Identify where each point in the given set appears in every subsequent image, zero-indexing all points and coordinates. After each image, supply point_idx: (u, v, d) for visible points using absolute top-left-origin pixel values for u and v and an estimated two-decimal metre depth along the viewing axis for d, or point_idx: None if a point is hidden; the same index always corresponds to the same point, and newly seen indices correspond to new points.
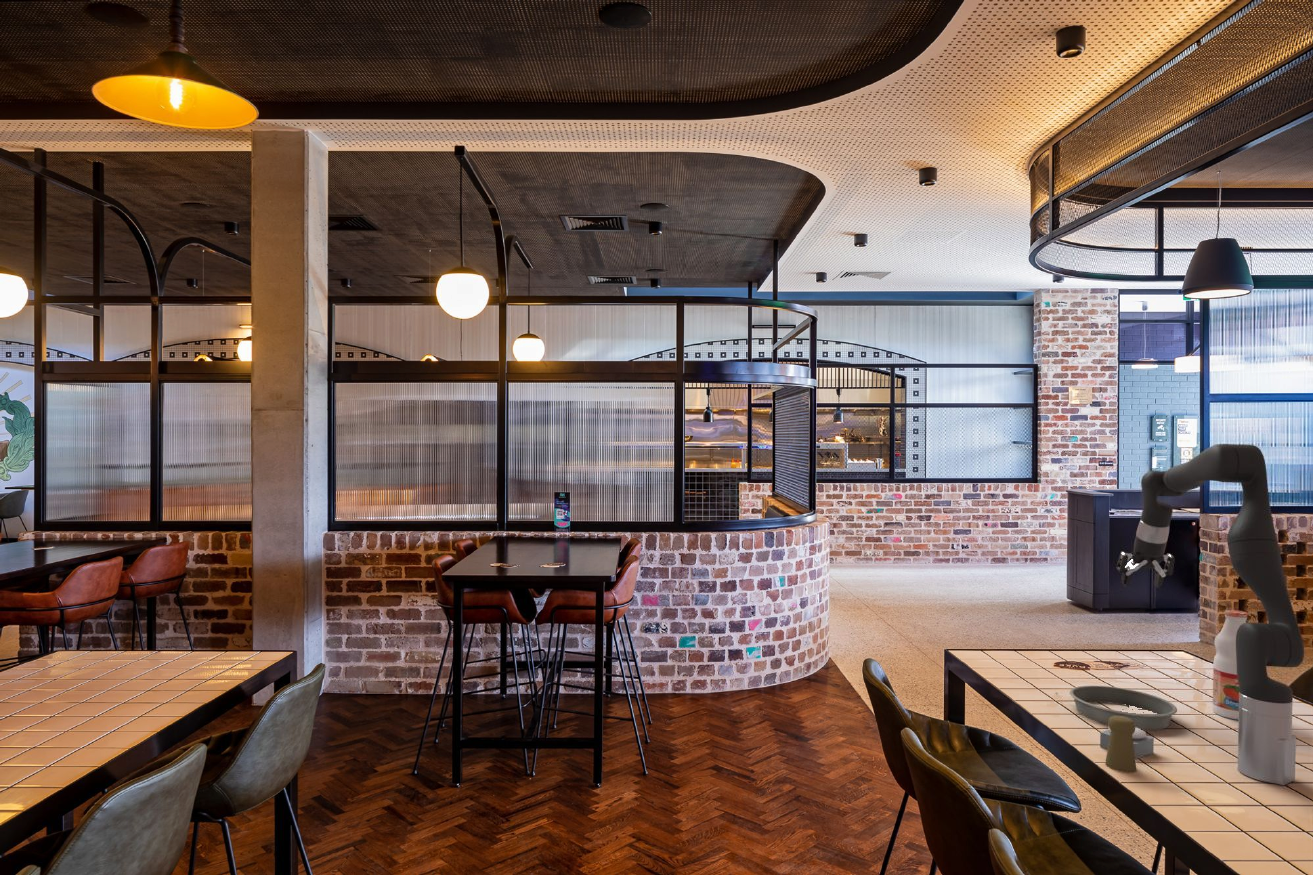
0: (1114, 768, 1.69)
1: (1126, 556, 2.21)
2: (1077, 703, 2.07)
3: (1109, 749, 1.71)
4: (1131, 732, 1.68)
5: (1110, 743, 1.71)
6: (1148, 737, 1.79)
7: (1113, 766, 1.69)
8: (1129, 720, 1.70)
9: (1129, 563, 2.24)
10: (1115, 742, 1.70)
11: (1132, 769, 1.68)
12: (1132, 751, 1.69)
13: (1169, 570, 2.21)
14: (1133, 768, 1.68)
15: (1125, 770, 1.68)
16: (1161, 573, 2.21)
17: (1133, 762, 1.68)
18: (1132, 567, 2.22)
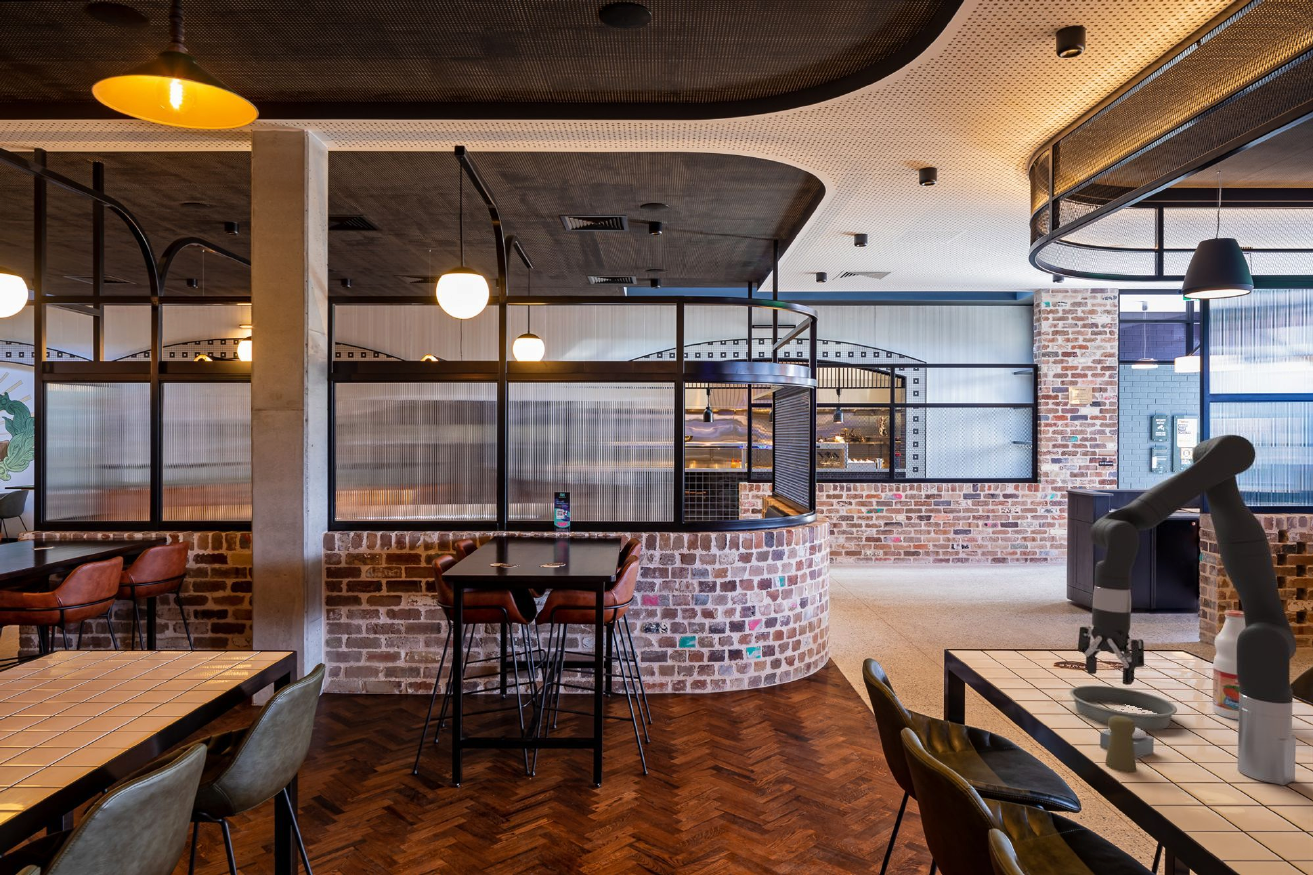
0: (1114, 768, 1.69)
1: None
2: (1077, 703, 2.07)
3: (1109, 749, 1.71)
4: (1131, 732, 1.68)
5: (1110, 743, 1.71)
6: (1148, 737, 1.79)
7: (1113, 766, 1.69)
8: (1129, 720, 1.70)
9: (1123, 654, 1.70)
10: (1115, 743, 1.70)
11: (1132, 769, 1.68)
12: (1132, 751, 1.69)
13: None
14: (1133, 768, 1.68)
15: (1125, 770, 1.68)
16: None
17: (1133, 762, 1.68)
18: (1129, 654, 1.71)
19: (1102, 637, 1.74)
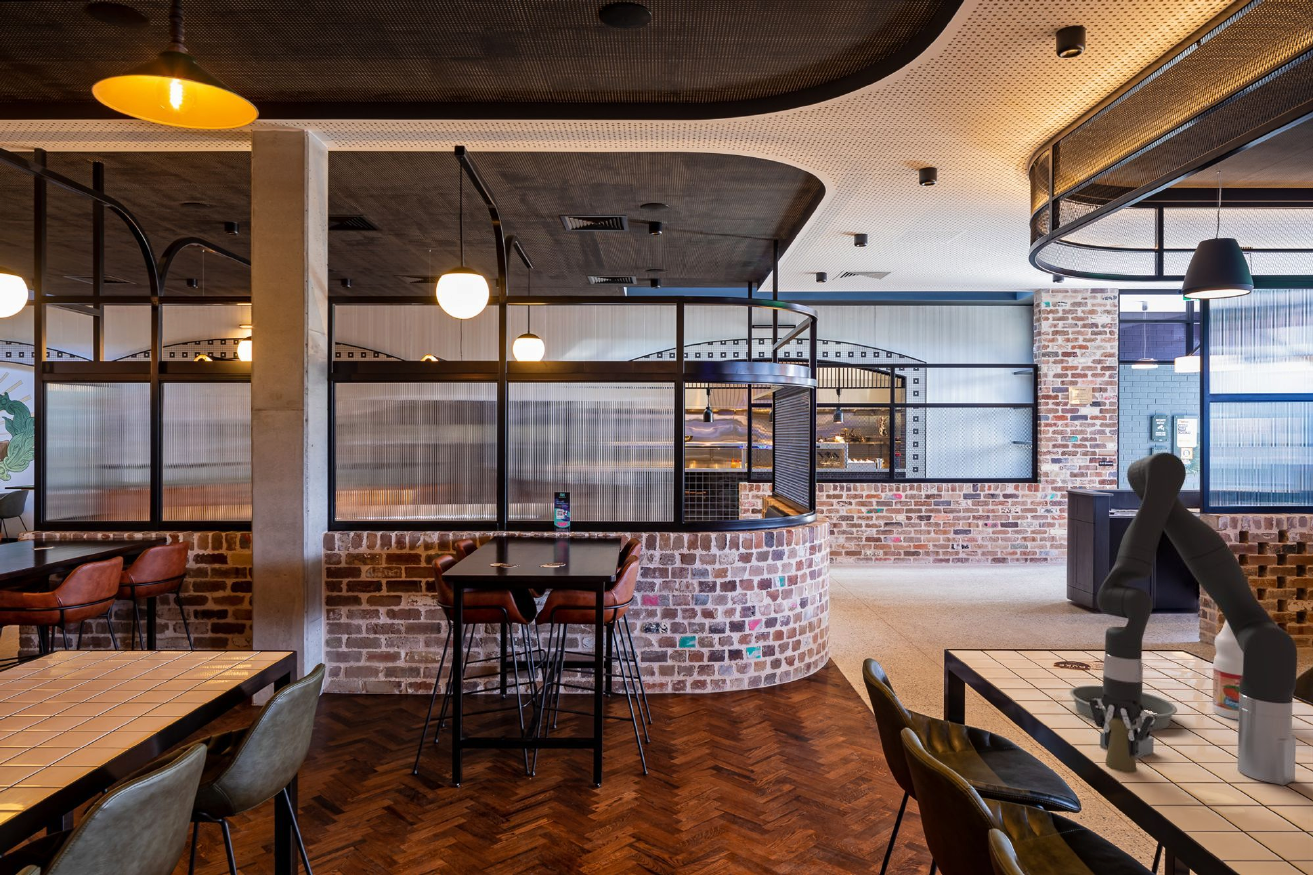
0: (1114, 768, 1.69)
1: None
2: (1077, 703, 2.07)
3: (1109, 749, 1.71)
4: None
5: (1110, 743, 1.71)
6: None
7: (1113, 766, 1.69)
8: None
9: (1132, 726, 1.68)
10: (1115, 742, 1.70)
11: (1132, 769, 1.68)
12: None
13: None
14: (1133, 768, 1.68)
15: (1125, 770, 1.68)
16: None
17: (1133, 762, 1.68)
18: (1137, 725, 1.69)
19: (1113, 705, 1.71)
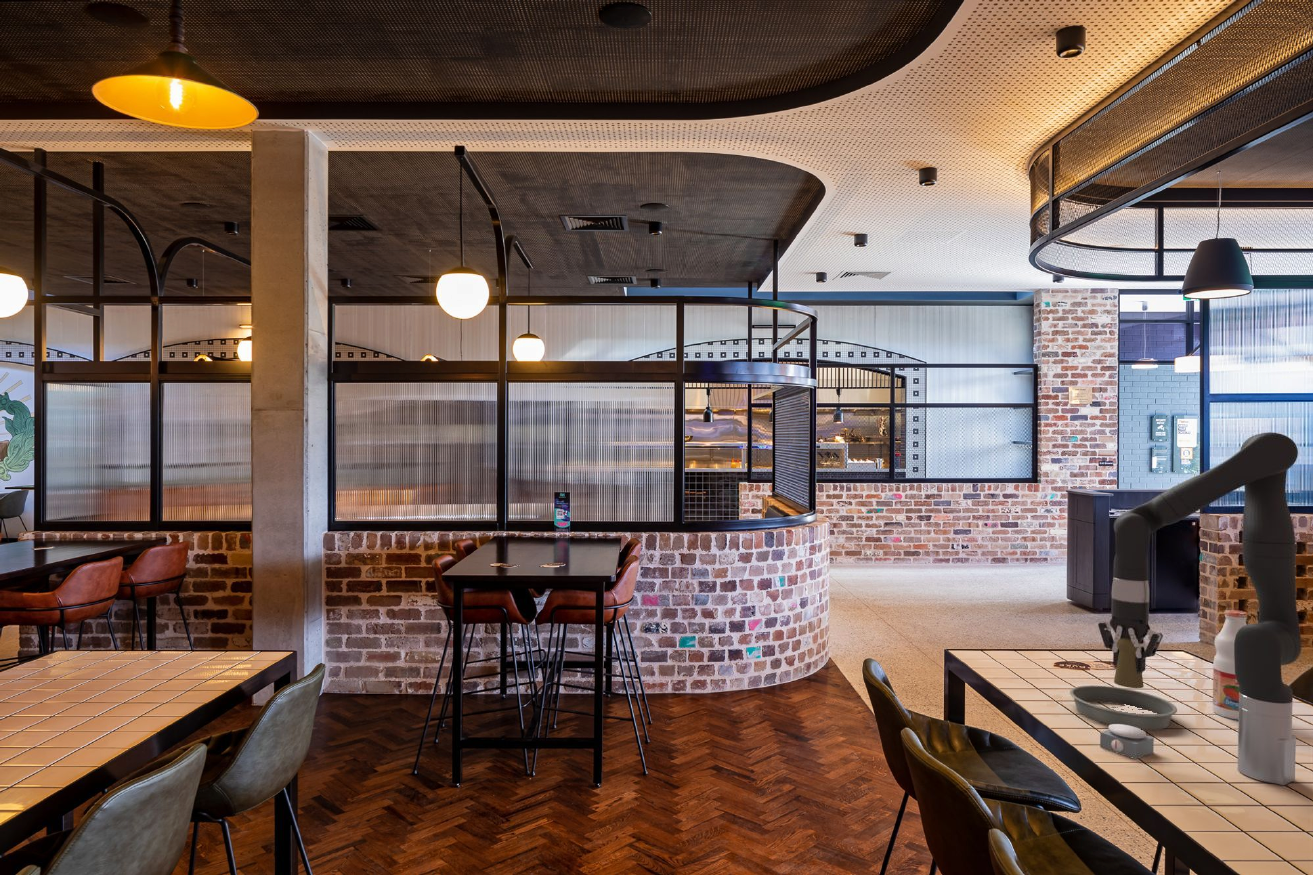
0: (1122, 685, 1.79)
1: None
2: (1077, 703, 2.07)
3: (1117, 667, 1.81)
4: None
5: (1118, 662, 1.81)
6: (1148, 737, 1.79)
7: (1121, 683, 1.79)
8: None
9: (1139, 645, 1.78)
10: (1123, 661, 1.80)
11: (1139, 685, 1.78)
12: None
13: None
14: (1140, 684, 1.78)
15: (1133, 686, 1.78)
16: None
17: (1140, 678, 1.78)
18: (1144, 644, 1.79)
19: (1121, 626, 1.81)
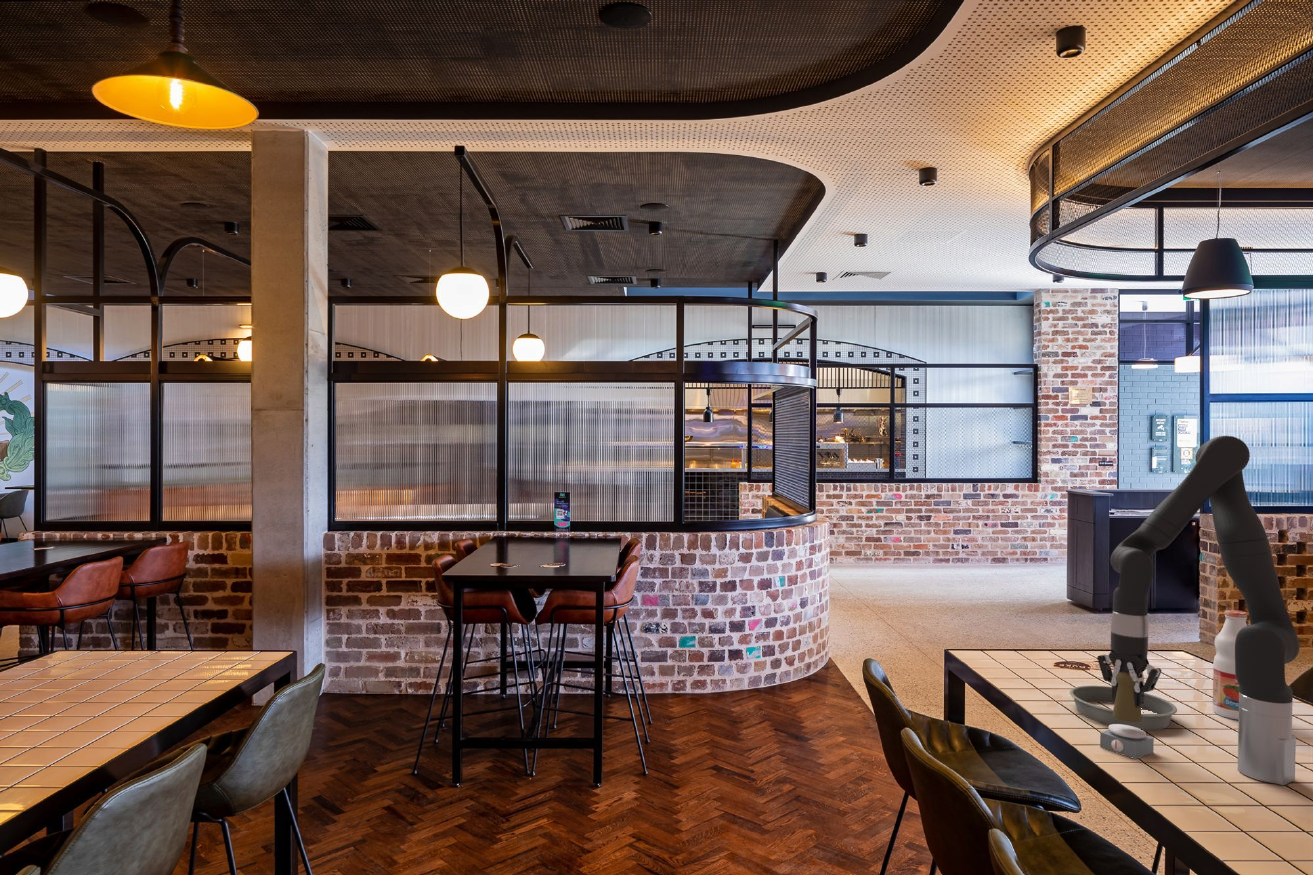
0: (1121, 718, 1.79)
1: None
2: (1077, 703, 2.07)
3: (1116, 701, 1.81)
4: None
5: (1117, 695, 1.81)
6: (1148, 737, 1.79)
7: (1119, 717, 1.80)
8: None
9: (1137, 679, 1.78)
10: (1121, 695, 1.80)
11: (1138, 719, 1.78)
12: None
13: None
14: (1139, 718, 1.78)
15: (1131, 720, 1.78)
16: None
17: (1139, 713, 1.79)
18: (1142, 678, 1.79)
19: (1120, 660, 1.81)
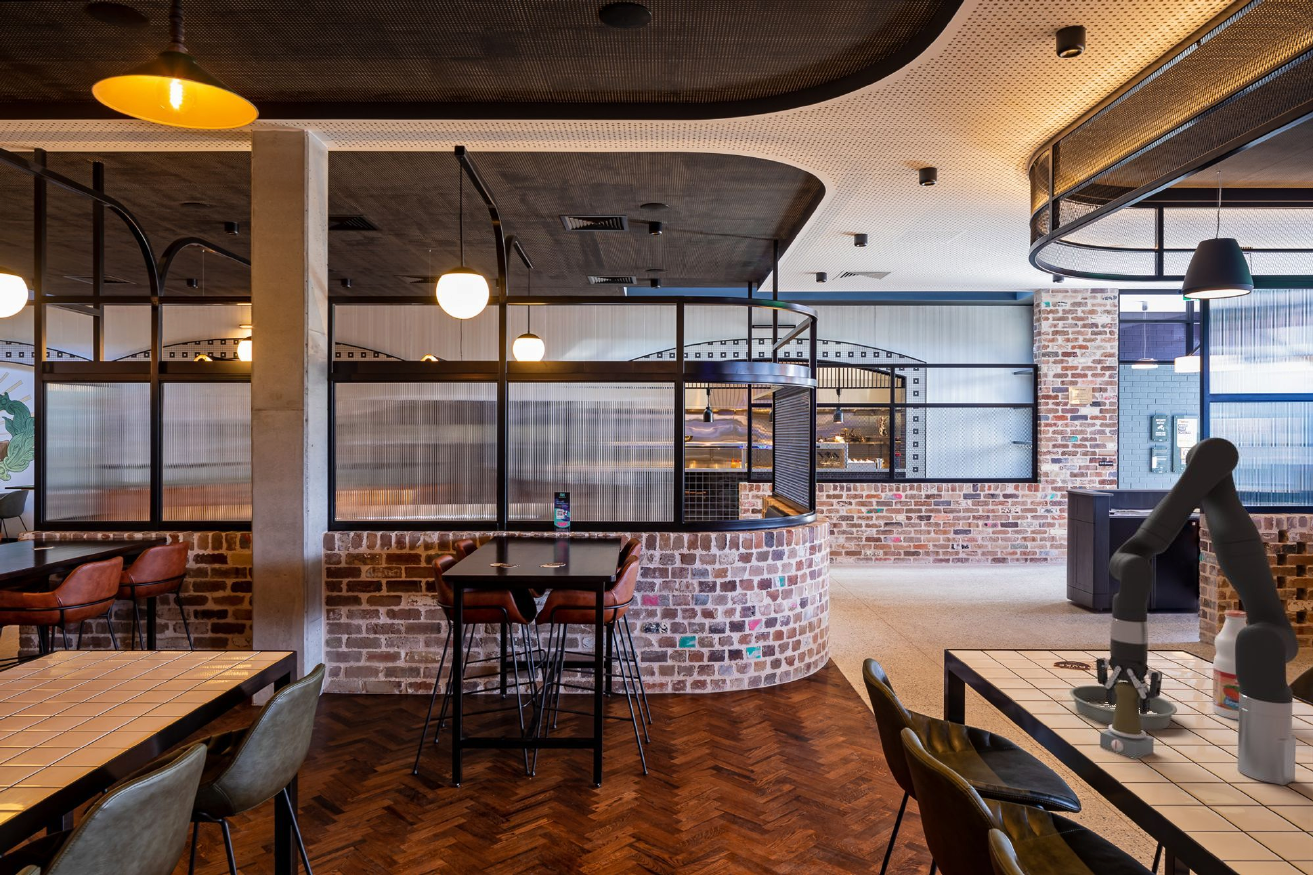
0: (1120, 730, 1.79)
1: None
2: (1077, 703, 2.07)
3: (1116, 713, 1.81)
4: (1136, 696, 1.78)
5: (1116, 707, 1.81)
6: (1148, 737, 1.79)
7: (1119, 729, 1.79)
8: None
9: (1141, 685, 1.77)
10: (1121, 706, 1.80)
11: (1137, 731, 1.78)
12: (1137, 714, 1.79)
13: None
14: (1138, 730, 1.78)
15: (1131, 732, 1.78)
16: None
17: (1138, 725, 1.78)
18: (1146, 684, 1.78)
19: (1121, 667, 1.81)
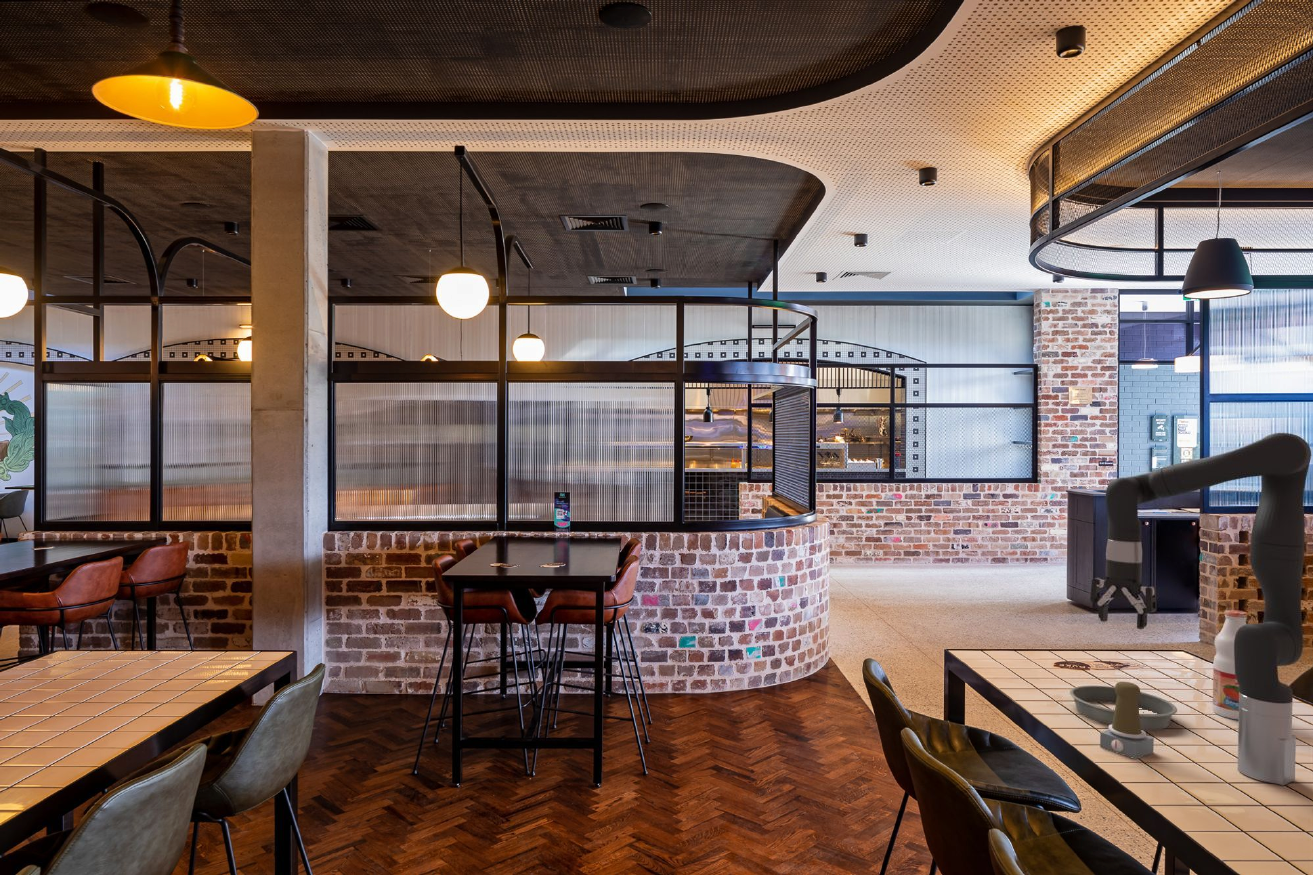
0: (1120, 731, 1.79)
1: None
2: (1077, 703, 2.07)
3: (1115, 713, 1.81)
4: (1136, 696, 1.78)
5: (1116, 707, 1.81)
6: (1148, 737, 1.79)
7: (1119, 729, 1.79)
8: (1134, 685, 1.80)
9: (1137, 601, 1.84)
10: (1121, 707, 1.80)
11: (1137, 731, 1.78)
12: (1137, 714, 1.79)
13: None
14: (1138, 730, 1.78)
15: (1131, 732, 1.78)
16: None
17: (1138, 725, 1.78)
18: (1141, 601, 1.85)
19: (1116, 587, 1.88)
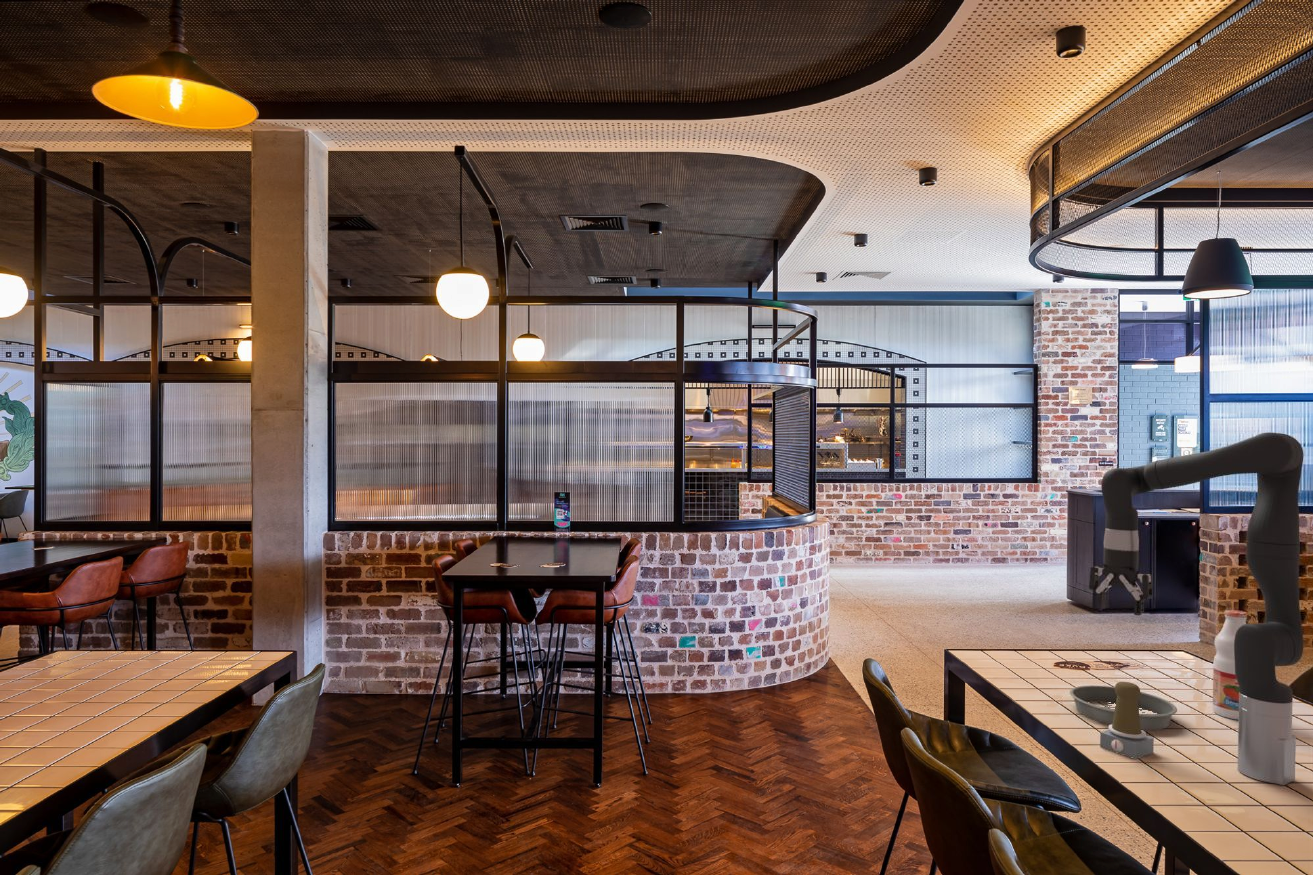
0: (1120, 731, 1.79)
1: None
2: (1077, 703, 2.07)
3: (1115, 713, 1.81)
4: (1136, 696, 1.78)
5: (1116, 707, 1.81)
6: (1148, 737, 1.79)
7: (1119, 729, 1.79)
8: (1134, 685, 1.80)
9: (1134, 588, 1.89)
10: (1121, 707, 1.80)
11: (1137, 731, 1.78)
12: (1137, 714, 1.79)
13: None
14: (1138, 730, 1.78)
15: (1131, 732, 1.78)
16: None
17: (1138, 725, 1.78)
18: (1139, 588, 1.90)
19: (1113, 574, 1.93)
